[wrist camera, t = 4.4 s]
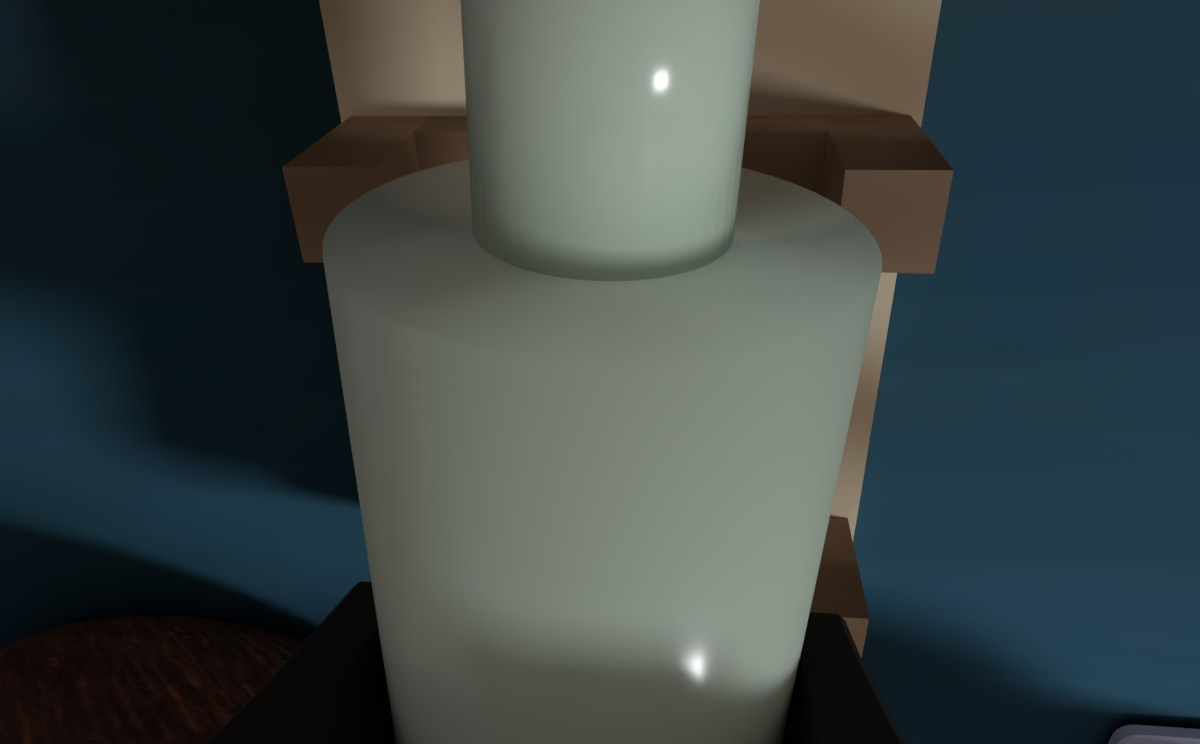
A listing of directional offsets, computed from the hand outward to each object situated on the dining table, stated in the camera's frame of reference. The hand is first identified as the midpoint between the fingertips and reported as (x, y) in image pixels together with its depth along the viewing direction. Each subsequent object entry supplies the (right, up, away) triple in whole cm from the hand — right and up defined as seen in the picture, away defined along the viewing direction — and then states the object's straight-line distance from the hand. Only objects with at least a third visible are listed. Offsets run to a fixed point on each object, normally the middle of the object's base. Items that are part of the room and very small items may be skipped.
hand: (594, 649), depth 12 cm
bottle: (0, +3, +1) cm, 3 cm away
